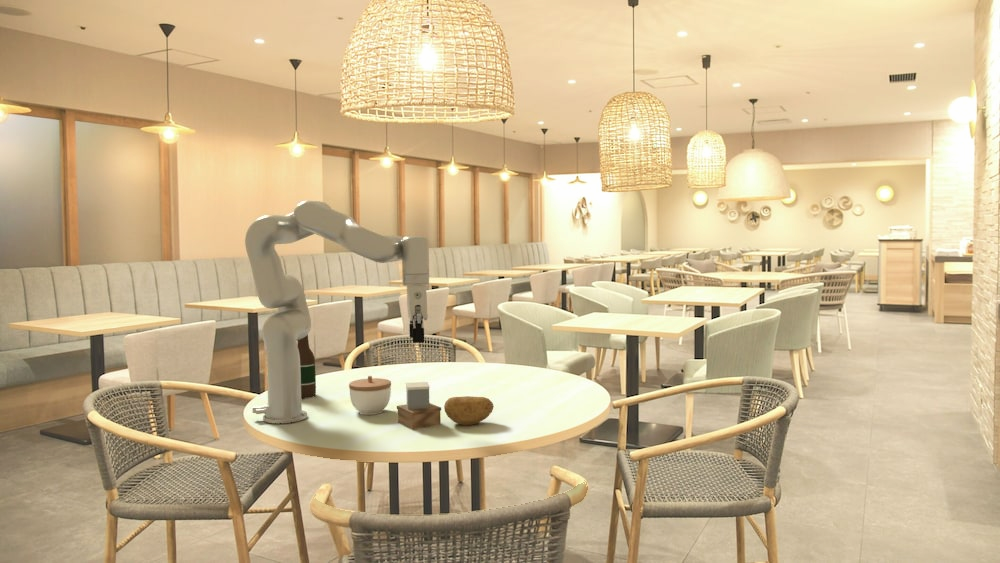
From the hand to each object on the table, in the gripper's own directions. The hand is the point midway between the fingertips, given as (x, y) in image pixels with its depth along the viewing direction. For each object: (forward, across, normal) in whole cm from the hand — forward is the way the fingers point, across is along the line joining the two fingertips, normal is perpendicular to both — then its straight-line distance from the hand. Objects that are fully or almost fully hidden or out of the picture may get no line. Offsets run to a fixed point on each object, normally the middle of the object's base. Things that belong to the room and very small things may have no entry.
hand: (416, 339), depth 208 cm
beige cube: (+19, 0, 0) cm, 19 cm away
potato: (+24, -4, -14) cm, 28 cm away
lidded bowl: (+24, +17, +13) cm, 32 cm away
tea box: (+24, 0, 0) cm, 25 cm away
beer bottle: (+24, +44, +34) cm, 61 cm away
